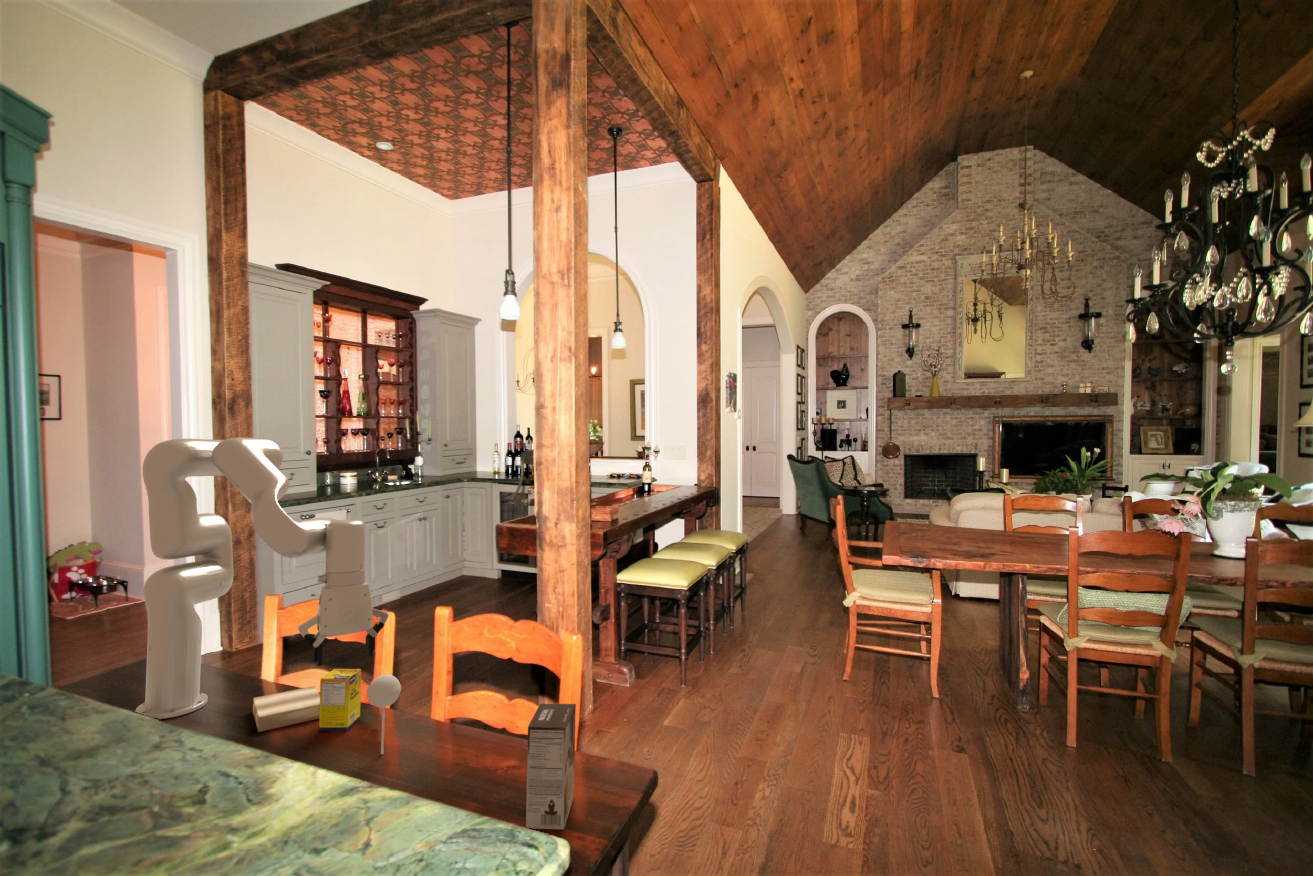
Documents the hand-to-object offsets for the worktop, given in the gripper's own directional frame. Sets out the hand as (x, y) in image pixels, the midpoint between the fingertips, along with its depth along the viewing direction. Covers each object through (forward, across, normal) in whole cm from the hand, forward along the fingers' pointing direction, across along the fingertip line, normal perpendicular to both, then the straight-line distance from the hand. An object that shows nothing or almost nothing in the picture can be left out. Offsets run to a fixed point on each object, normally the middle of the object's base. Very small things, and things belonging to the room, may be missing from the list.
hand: (344, 659), depth 129 cm
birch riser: (+14, -9, +13) cm, 20 cm away
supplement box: (+14, -1, +1) cm, 14 cm away
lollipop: (+14, +3, -17) cm, 23 cm away
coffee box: (+15, +20, -53) cm, 59 cm away
